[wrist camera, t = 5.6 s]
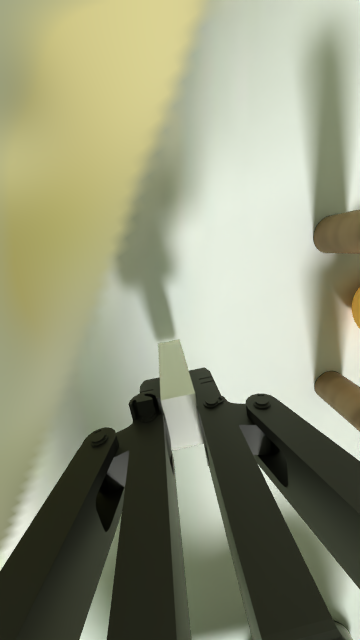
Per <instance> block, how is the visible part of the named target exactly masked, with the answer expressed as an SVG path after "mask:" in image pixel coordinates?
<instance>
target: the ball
mask: <svg viewBox="0 0 360 640" xmlns="http://www.w3.org/2000/svg"><path fill="white" fill-rule="evenodd" d="M352 315H353V318H354V320H355V322H356V324H357V326H358V327H359V328H360V287H359V288H358V290H357V291H356V293H355V295H354V298H353V301H352Z"/></svg>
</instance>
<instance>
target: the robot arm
mask: <svg viewBox="0 0 360 640" xmlns="http://www.w3.org/2000/svg"><path fill="white" fill-rule="evenodd" d="M158 352H159V374H160V378H155V379H150V380H145V381H144V382H143V383H142V385H141V386H140V394H138V395H136V396H135V397H133V398H132V399H131V400H130V402H129V407H130V411H131V415H132V418H133V423H132V424H131V425H130V426H129V427H127V428H126V429H124V430H122V431H119V432H117V433H115V430H113V429H112V428H101V429H98V430H96V431H94V432H93V433H91V434H90V435H89V436H88V437H87V438H86V439H85V440H84V442H83V443H82V445H81V446H80V448H79V449H78V451H77V453H76V454H75V456H74V457H73V459H72V460H71V462H70V463H69V465H68V467H67V468H66V470H65V471H64V473H63V474H62V476H61V477H60V479H59V481H58V482H57V484H56V485H55V487H54V488H53V490H52V491H51V493H50V495H49V496H48V498H47V499H46V501H45V502H44V504H43V505H42V507H41V509H40V510H39V512H38V513H37V515H36V516H35V518H34V519H33V521H32V523H31V524H30V526H29V527H28V529H27V530H26V532H25V533H24V535H23V537H22V538H21V540H20V541H19V543H18V544H17V546H16V547H15V549H14V551H13V552H12V554H11V555H10V557H9V558H8V560H7V561H6V563H5V565H4V566H3V568H2V569H1V571H0V640H79V639H80V636H81V633H82V630H83V627H84V624H85V621H86V618H87V615H88V612H89V609H90V606H91V603H92V600H93V597H94V594H95V591H96V588H97V585H98V582H99V579H100V576H101V573H102V570H103V567H104V564H105V561H106V558H107V555H108V552H109V549H110V546H111V543H112V540H113V537H114V534H115V531H116V528H117V525H118V522H119V519H120V516H121V513H122V517H121V526H120V534H119V542H118V551H117V559H116V568H115V576H114V584H113V593H112V601H111V610H110V618H109V626H108V635H107V640H191V632H190V622H189V611H188V601H187V591H186V581H185V571H184V560H183V550H182V540H181V530H180V520H179V510H178V499H177V489H176V479H175V469H174V460H173V455H172V451H173V450H178V449H182V448H187V447H191V446H196V445H200V444H204V447H205V452H206V458H207V464H208V466H209V468H210V472H211V476H212V480H213V484H214V488H215V492H216V496H217V500H218V504H219V508H220V512H221V516H222V520H223V524H224V528H225V532H226V536H227V540H228V544H229V548H230V551H231V555H232V559H233V563H234V567H235V571H236V575H237V579H238V583H239V587H240V591H241V595H242V599H243V603H244V607H245V611H246V615H247V619H248V623H249V627H250V631H251V635H252V638H253V640H353V639H352V637H351V635H350V633H349V631H348V630H347V629H346V628H345V627H344V626H343V625H341V624H339V623H337V622H334V621H333V619H332V617H331V615H330V613H329V611H328V609H327V607H326V605H325V603H324V601H323V598H322V596H321V594H320V592H319V590H318V588H317V586H316V584H315V582H314V580H313V578H312V576H311V574H310V572H309V570H308V567H307V565H306V563H305V561H304V559H303V557H302V555H301V553H300V551H299V549H298V547H297V545H296V543H295V541H294V538H293V536H292V534H291V532H290V530H289V528H288V526H287V524H286V522H285V520H284V518H283V516H282V514H281V512H280V510H279V507H278V505H277V503H276V501H275V499H274V497H273V495H272V493H271V491H270V489H269V487H268V485H267V483H266V481H265V479H264V476H263V474H262V472H261V470H260V468H259V466H260V467H261V468H262V470H263V471H264V472H265V473H266V475H267V476H268V477H269V478H270V480H271V481H272V482H273V483H274V484H275V486H276V487H277V488H278V489H279V491H280V492H281V493H282V494H283V496H284V497H285V498H286V499H287V500H288V502H289V503H290V504H291V505H292V507H293V508H294V509H295V510H296V511H297V513H298V514H299V515H300V516H301V518H302V519H303V520H304V521H305V523H306V524H307V525H308V526H309V527H310V529H311V530H312V531H313V532H314V534H315V535H316V536H317V537H318V539H319V540H320V541H321V542H322V543H323V545H324V546H325V547H326V548H327V550H328V551H329V552H330V553H331V554H332V556H333V557H334V558H335V559H336V561H337V562H338V563H339V564H340V566H341V567H342V568H343V569H344V570H345V572H346V573H347V574H348V575H349V577H350V578H351V579H352V580H353V582H354V583H355V584H356V585H357V586H358V588H359V589H360V461H359V460H357V459H356V458H355V457H353V456H352V455H351V454H349V453H348V452H347V451H345V450H344V449H343V448H341V447H340V446H339V445H337V444H336V443H335V442H333V441H332V440H331V439H329V438H328V437H327V436H325V435H324V434H323V433H321V432H320V431H319V430H317V429H316V428H315V427H313V426H312V425H311V424H309V423H308V422H307V421H305V420H304V419H303V418H301V417H300V416H299V415H297V414H296V413H295V412H293V411H292V410H291V409H289V408H288V407H287V406H285V405H284V404H283V403H281V402H280V401H278V400H277V399H276V398H274V397H272V396H271V395H267V394H255V395H252V396H250V397H248V399H247V400H246V404H235V403H230V402H228V401H227V400H226V399H225V398H224V397H223V396H221V394H220V392H219V390H218V388H217V386H216V384H215V381H214V379H213V377H212V375H211V373H210V371H209V370H207V369H206V368H200V369H195V370H190V371H188V367H187V364H186V360H185V357H184V353H183V350H182V346H181V343H180V340H174V341H169V342H164V343H159V344H158ZM171 448H172V450H171ZM258 465H259V466H258Z"/></svg>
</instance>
